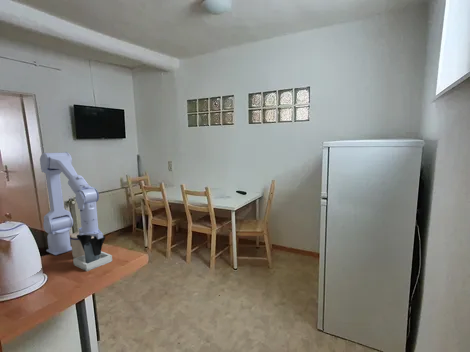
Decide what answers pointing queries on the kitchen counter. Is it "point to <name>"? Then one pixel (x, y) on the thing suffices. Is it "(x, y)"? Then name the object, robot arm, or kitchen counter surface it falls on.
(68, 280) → the kitchen counter surface
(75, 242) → the teacup with lid
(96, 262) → the tray
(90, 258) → the tumbler
